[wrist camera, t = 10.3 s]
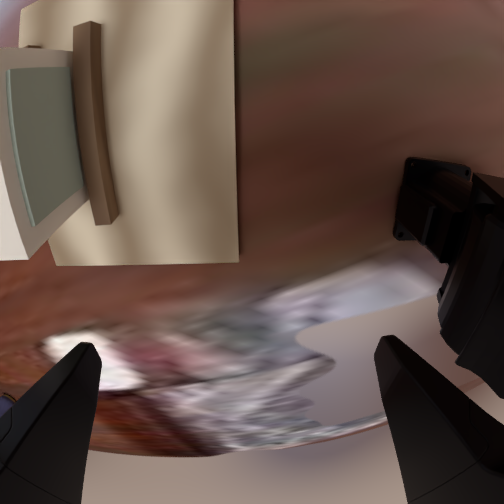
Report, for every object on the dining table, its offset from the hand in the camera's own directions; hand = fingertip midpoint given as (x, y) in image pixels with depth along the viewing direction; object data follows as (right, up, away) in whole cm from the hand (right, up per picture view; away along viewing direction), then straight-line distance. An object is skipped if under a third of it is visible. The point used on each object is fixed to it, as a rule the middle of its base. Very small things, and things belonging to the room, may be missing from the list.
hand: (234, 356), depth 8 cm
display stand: (-8, +12, +8) cm, 16 cm away
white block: (-11, +11, +7) cm, 17 cm away
